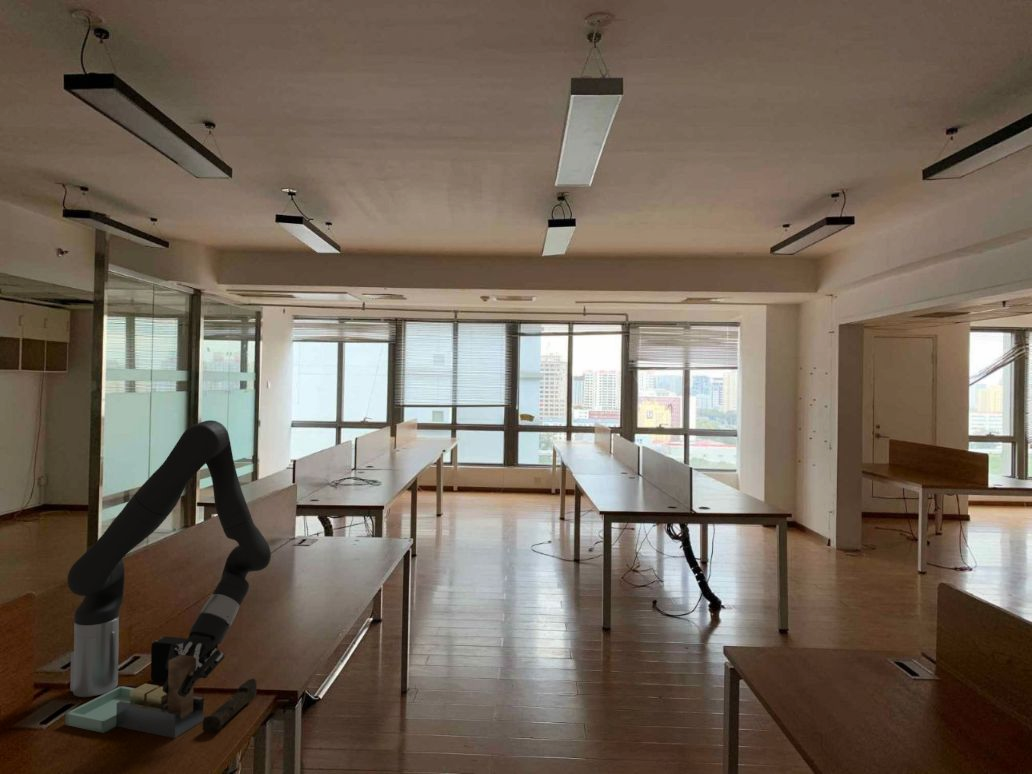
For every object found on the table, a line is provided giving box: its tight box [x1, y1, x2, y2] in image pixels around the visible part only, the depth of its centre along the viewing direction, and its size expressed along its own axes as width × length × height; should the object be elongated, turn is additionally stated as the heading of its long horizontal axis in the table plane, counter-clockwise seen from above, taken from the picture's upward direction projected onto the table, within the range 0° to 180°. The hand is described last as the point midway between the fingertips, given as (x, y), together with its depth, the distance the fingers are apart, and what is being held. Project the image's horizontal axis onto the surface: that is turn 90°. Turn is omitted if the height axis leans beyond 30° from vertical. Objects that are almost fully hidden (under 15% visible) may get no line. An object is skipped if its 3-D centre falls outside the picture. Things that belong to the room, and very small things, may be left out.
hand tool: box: [202, 678, 258, 735], centre depth 149 cm, size 19×4×5 cm, turn 170°
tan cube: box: [130, 683, 160, 706], centre depth 145 cm, size 4×4×4 cm
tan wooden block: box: [162, 655, 195, 718], centre depth 142 cm, size 4×5×12 cm
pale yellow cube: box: [147, 685, 168, 709], centre depth 143 cm, size 4×4×4 cm
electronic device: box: [150, 636, 188, 684], centre depth 165 cm, size 4×10×10 cm, turn 80°
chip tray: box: [64, 685, 136, 734], centre depth 147 cm, size 11×14×2 cm
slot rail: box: [116, 695, 205, 739], centre depth 143 cm, size 16×8×5 cm, turn 73°
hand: (173, 693), depth 140 cm, fingers closed on tan wooden block, 3 cm apart
